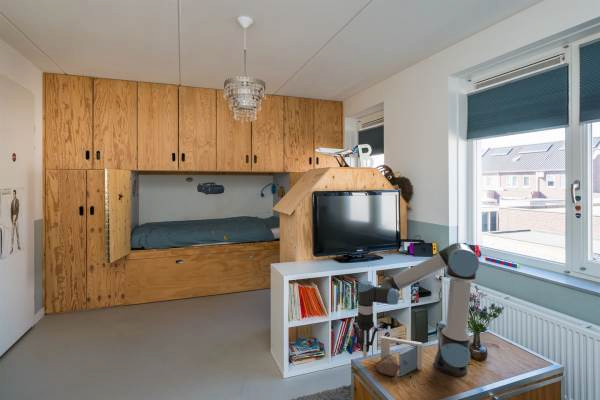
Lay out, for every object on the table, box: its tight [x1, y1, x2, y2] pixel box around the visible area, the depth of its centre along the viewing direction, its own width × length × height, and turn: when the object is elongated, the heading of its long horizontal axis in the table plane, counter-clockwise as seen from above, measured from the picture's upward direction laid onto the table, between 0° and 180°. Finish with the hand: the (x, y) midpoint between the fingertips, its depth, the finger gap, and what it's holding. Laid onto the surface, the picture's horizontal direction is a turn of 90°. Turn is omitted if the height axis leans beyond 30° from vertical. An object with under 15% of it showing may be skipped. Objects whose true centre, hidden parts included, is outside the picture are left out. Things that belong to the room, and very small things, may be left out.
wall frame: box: [380, 335, 423, 371], centre depth 159 cm, size 20×2×13 cm, turn 68°
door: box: [398, 345, 418, 377], centre depth 152 cm, size 13×3×12 cm, turn 123°
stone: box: [375, 354, 400, 377], centre depth 154 cm, size 12×9×10 cm
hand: (365, 357), depth 158 cm, fingers closed
